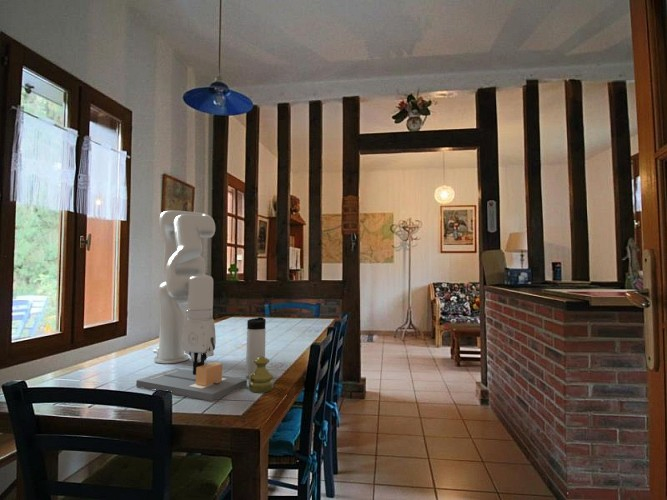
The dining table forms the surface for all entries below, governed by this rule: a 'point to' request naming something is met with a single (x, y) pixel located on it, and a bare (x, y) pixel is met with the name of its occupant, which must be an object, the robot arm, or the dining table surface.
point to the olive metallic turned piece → (261, 376)
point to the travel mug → (255, 342)
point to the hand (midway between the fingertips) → (198, 373)
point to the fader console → (191, 384)
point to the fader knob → (208, 373)
